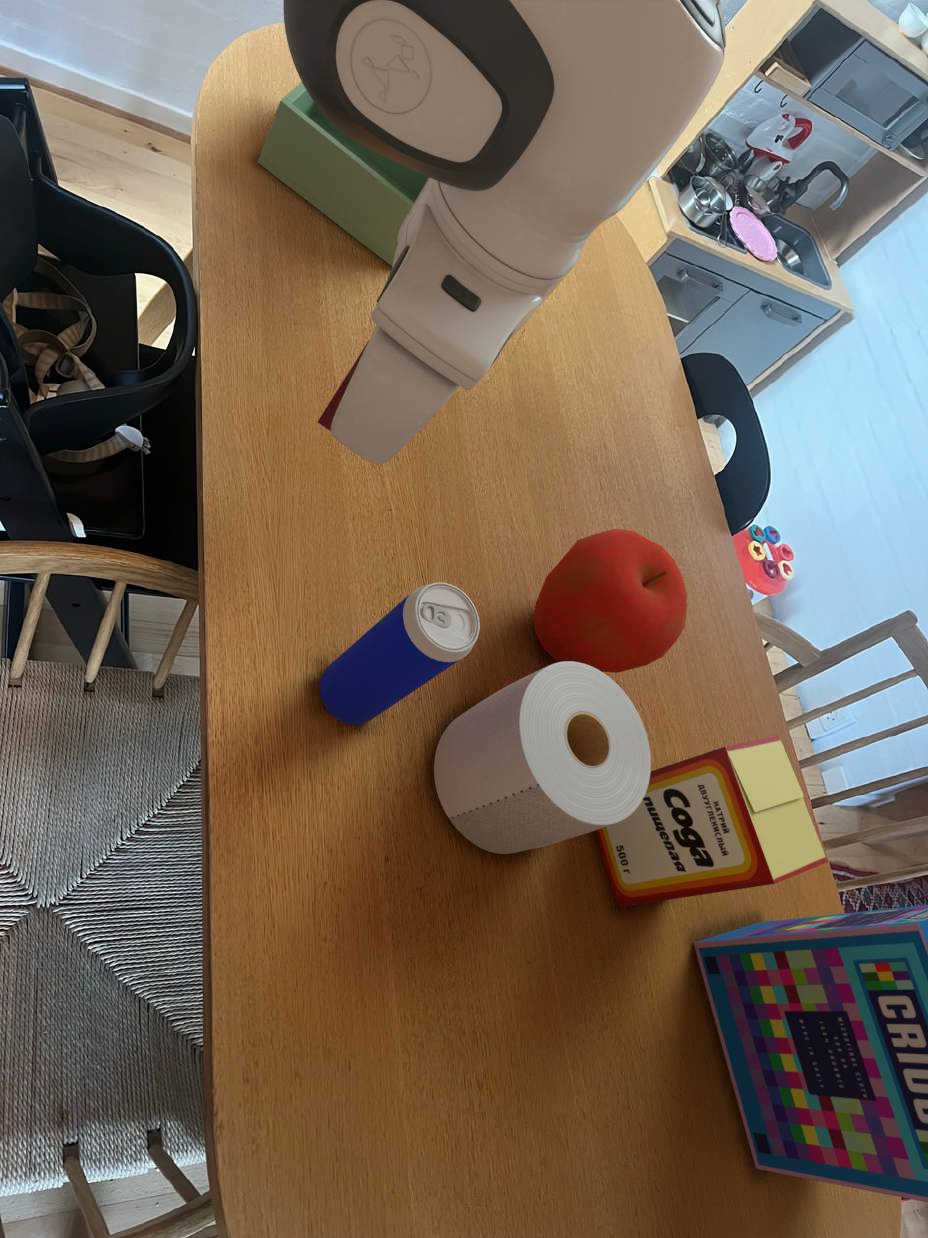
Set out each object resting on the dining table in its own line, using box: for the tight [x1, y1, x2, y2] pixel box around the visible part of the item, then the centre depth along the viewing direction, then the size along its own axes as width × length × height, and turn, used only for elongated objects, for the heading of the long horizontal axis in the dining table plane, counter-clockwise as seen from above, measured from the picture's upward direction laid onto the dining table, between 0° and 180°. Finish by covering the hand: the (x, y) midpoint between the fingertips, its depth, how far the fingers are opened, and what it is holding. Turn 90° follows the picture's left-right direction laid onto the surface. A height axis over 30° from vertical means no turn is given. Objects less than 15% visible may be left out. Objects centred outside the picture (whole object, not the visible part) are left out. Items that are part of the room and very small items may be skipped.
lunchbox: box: [257, 81, 429, 267], centre depth 79 cm, size 17×13×7 cm
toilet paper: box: [433, 661, 652, 855], centre depth 58 cm, size 12×12×12 cm
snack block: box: [317, 338, 370, 432], centre depth 54 cm, size 5×5×5 cm
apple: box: [532, 528, 688, 674], centre depth 67 cm, size 12×12×14 cm
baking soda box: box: [594, 734, 828, 908], centre depth 61 cm, size 10×6×16 cm
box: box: [693, 904, 928, 1203], centre depth 58 cm, size 17×9×20 cm, turn 13°
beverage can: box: [318, 581, 481, 725], centre depth 52 cm, size 5×5×15 cm
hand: (374, 402), depth 54 cm, fingers closed on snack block, 4 cm apart
